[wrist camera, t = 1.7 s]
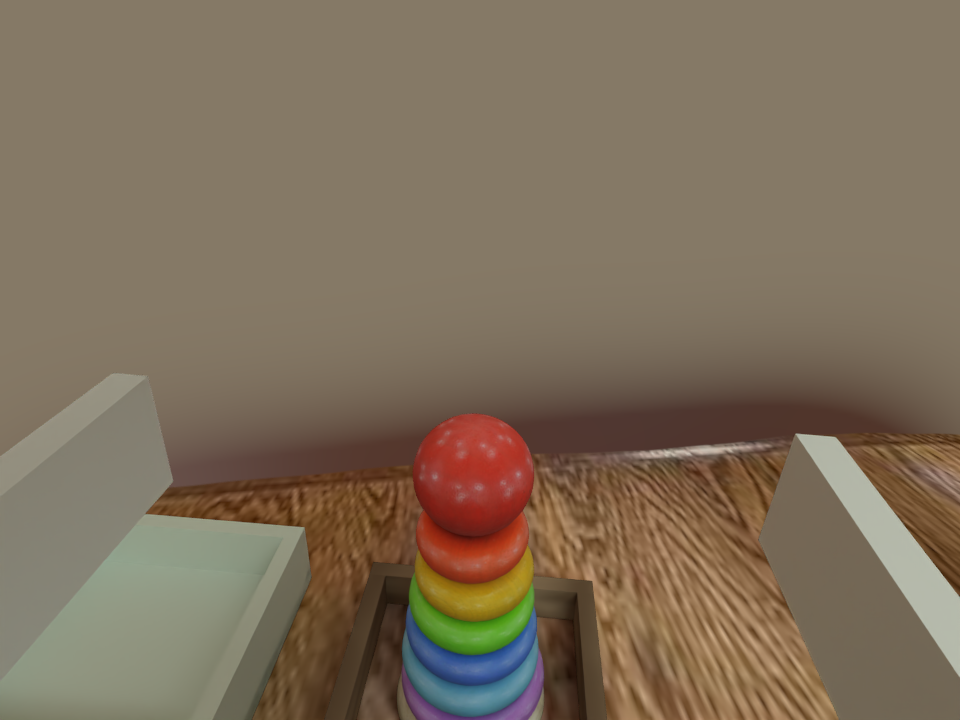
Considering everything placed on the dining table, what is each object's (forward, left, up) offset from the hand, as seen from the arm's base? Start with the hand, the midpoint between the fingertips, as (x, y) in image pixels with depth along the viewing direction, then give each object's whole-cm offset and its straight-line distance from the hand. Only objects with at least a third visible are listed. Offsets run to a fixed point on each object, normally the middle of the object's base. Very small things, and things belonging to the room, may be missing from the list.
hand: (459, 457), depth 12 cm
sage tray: (+19, -10, -25) cm, 33 cm away
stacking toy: (0, -10, -25) cm, 27 cm away
